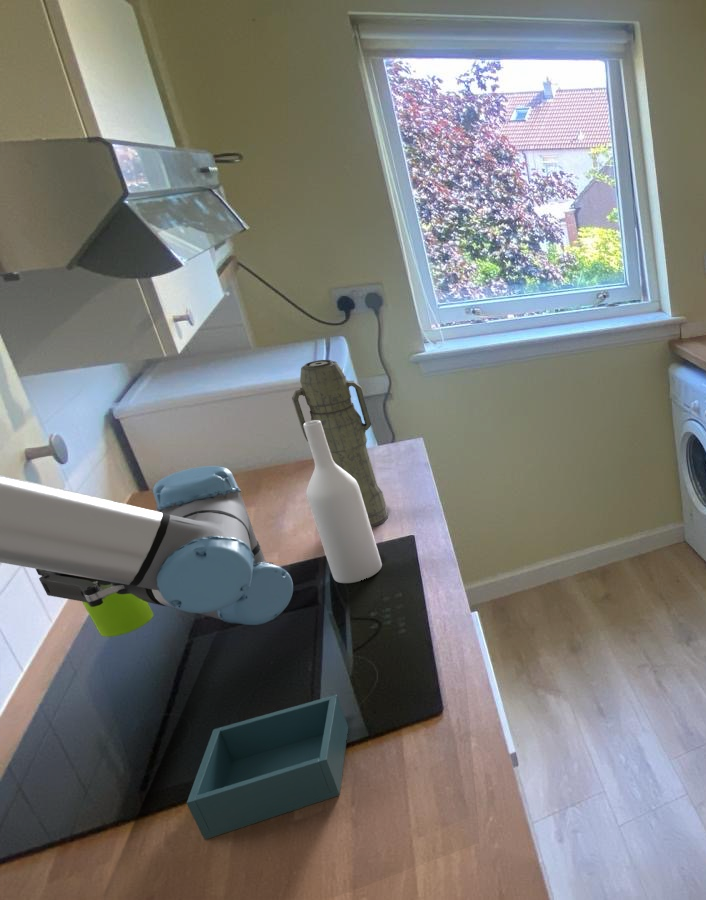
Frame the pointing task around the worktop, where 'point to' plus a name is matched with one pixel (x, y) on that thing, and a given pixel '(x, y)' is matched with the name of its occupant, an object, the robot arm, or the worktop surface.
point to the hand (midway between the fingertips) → (67, 552)
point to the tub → (269, 766)
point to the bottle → (339, 514)
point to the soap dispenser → (119, 614)
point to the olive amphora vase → (342, 428)
